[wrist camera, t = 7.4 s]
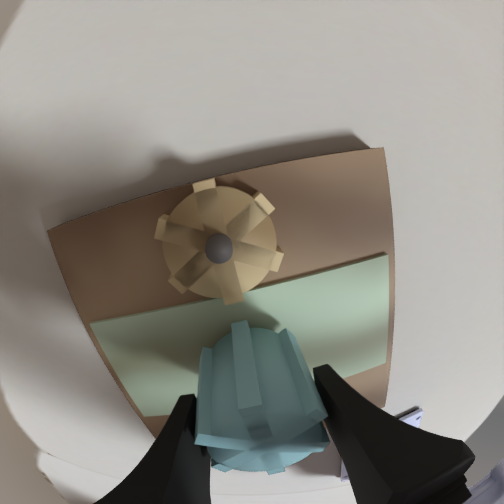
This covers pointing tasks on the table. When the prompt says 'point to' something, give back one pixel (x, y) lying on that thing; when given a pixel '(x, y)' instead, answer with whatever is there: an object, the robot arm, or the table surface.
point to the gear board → (239, 274)
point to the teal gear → (257, 402)
